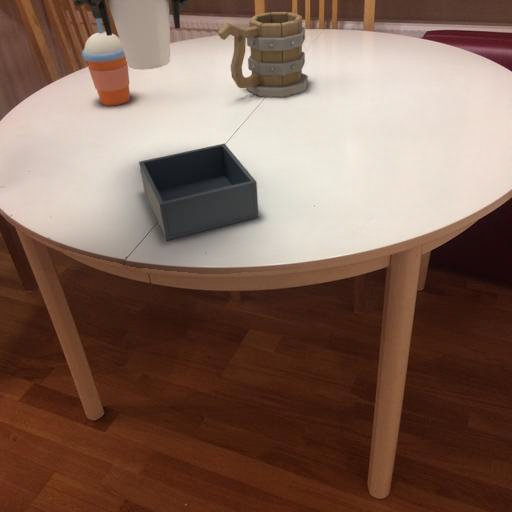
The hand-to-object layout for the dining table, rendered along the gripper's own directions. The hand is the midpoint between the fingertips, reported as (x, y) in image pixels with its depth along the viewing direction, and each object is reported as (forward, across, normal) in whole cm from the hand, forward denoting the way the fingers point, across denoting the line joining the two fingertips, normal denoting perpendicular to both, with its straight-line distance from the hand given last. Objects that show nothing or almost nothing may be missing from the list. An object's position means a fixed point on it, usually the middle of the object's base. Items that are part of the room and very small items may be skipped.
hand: (142, 23), depth 78 cm
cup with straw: (+35, -8, +5) cm, 36 cm away
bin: (+1, +4, -28) cm, 29 cm away
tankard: (+32, +23, +2) cm, 39 cm away
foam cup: (+1, 0, -6) cm, 6 cm away
